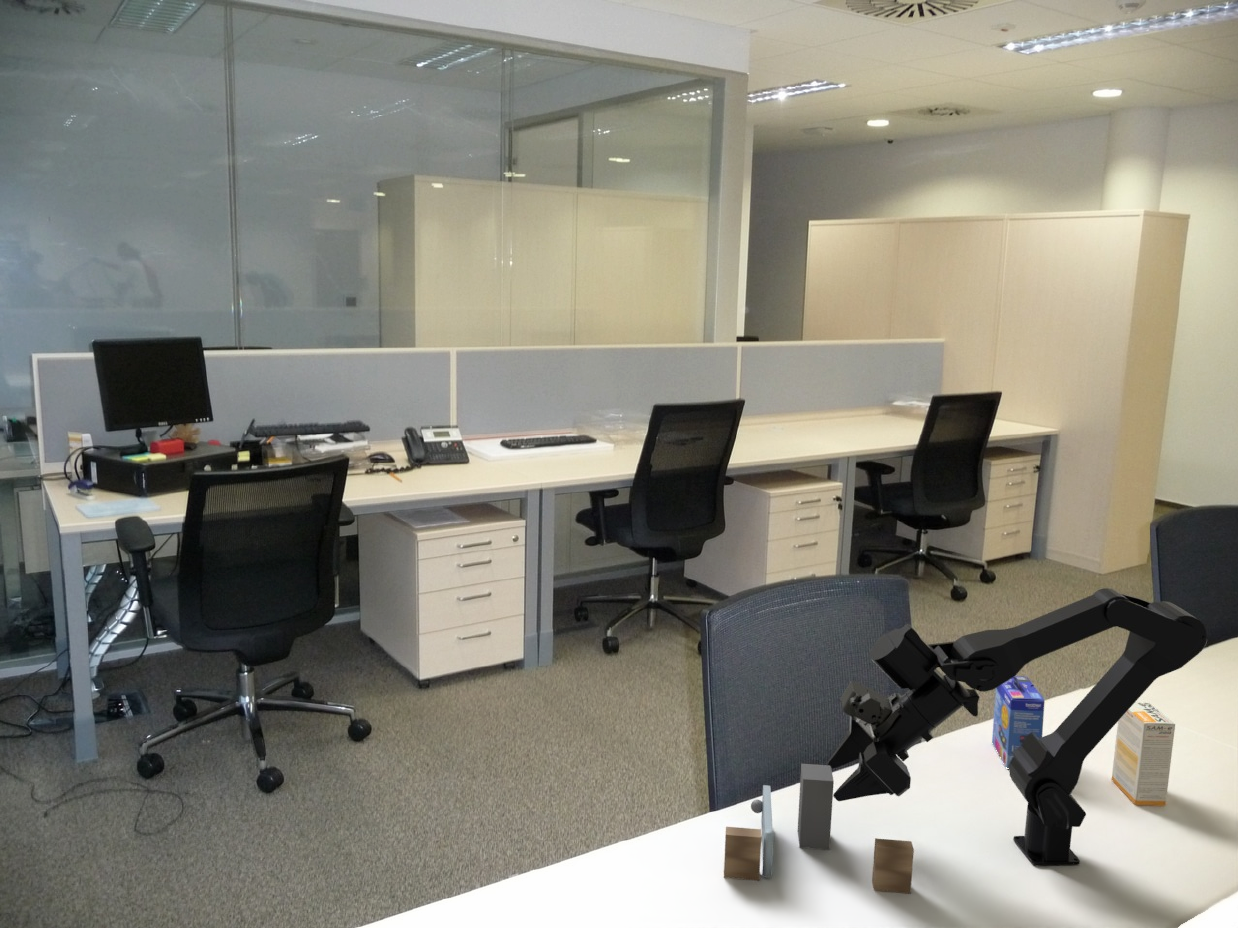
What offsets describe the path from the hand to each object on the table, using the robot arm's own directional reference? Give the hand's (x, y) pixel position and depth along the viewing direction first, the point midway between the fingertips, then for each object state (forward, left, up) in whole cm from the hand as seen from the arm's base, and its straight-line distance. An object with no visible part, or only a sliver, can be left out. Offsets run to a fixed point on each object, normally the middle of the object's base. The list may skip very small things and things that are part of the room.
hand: (832, 781), depth 141 cm
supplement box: (+12, -51, -9) cm, 53 cm away
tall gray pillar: (0, +2, -9) cm, 9 cm away
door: (-2, +10, -8) cm, 13 cm away
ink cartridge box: (+24, -37, -9) cm, 45 cm away
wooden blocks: (-9, +4, -9) cm, 13 cm away
